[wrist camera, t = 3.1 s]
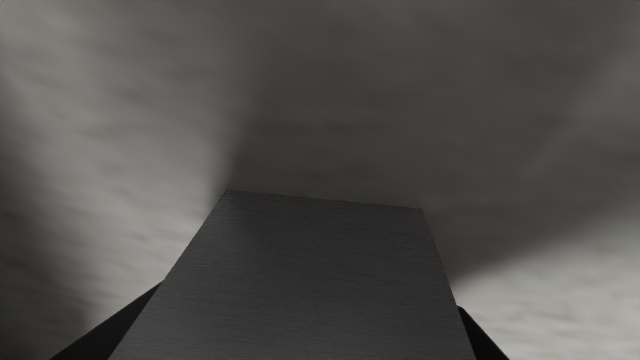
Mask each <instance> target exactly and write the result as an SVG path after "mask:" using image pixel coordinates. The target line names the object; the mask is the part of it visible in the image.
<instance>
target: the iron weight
mask: <svg viewBox="0 0 640 360" xmlns="http://www.w3.org/2000/svg"><path fill="white" fill-rule="evenodd" d="M108 360H476V357H475V355H474V352H473V349H472V346H471V344H470V341H469V338H468V335H467V333H466V330H465V327H464V324H463V321H462V319H461V316H460V313H459V310H458V308H457V305H456V302H455V299H454V297H453V294H452V291H451V288H450V286H449V283H448V280H447V277H446V275H445V272H444V269H443V266H442V264H441V261H440V258H439V255H438V253H437V250H436V247H435V244H434V241H433V239H432V236H431V233H430V230H429V228H428V225H427V222H426V219H425V217H424V214H423V211H422V209H415V208H405V207H395V206H385V205H375V204H365V203H355V202H345V201H335V200H325V199H315V198H306V197H296V196H286V195H276V194H266V193H256V192H246V191H236V190H226V192H225V193H224V195H223V196H222V198H221V199H220V200H219V202H218V203H217V205H216V206H215V208H214V209H213V210H212V212H211V213H210V215H209V216H208V218H207V219H206V220H205V222H204V223H203V225H202V226H201V228H200V229H199V230H198V232H197V233H196V235H195V236H194V238H193V239H192V240H191V242H190V243H189V245H188V246H187V247H186V249H185V250H184V252H183V253H182V255H181V256H180V257H179V259H178V260H177V262H176V263H175V265H174V266H173V267H172V269H171V270H170V272H169V273H168V275H167V276H166V277H165V279H164V280H163V282H162V283H161V285H160V286H159V287H158V289H157V290H156V292H155V293H154V295H153V296H152V297H151V299H150V300H149V302H148V303H147V305H146V306H145V307H144V309H143V310H142V312H141V313H140V314H139V316H138V317H137V319H136V320H135V322H134V323H133V324H132V326H131V327H130V329H129V330H128V332H127V333H126V334H125V336H124V337H123V339H122V340H121V342H120V343H119V344H118V346H117V347H116V349H115V350H114V352H113V353H112V354H111V356H110V357H109V359H108Z"/></svg>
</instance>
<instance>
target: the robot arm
mask: <svg viewBox="0 0 640 360" xmlns="http://www.w3.org/2000/svg"><path fill="white" fill-rule="evenodd" d="M162 282H163V281H162ZM162 282H160V283H159V284H157V285H156V286H154V287H153V288H151V289H150V290H149V291H147V292H146V293H144V294H143V295H141V296H140V297H139V298H137V299H136V300H134V301H133V302H131V303H130V304H128V305H127V306H126V307H124V308H123V309H121V310H120V311H118V312H117V313H115V314H114V315H113V316H111V317H110V318H108V319H107V320H105V321H104V322H102V323H101V324H100V325H98V326H97V327H95V328H94V329H92V330H91V331H89V332H88V333H87V334H85V335H84V336H82V337H81V338H79V339H78V340H76V341H75V342H74V343H72V344H71V345H69V346H68V347H66V348H65V349H64V350H62V351H61V352H59V353H58V354H56V355H55V356H53V357H52V358H51V359H49V360H108V359H109V357H110V356H111V354H112V353H113V352H114V350H115V349H116V347H117V346H118V344H119V343H120V342H121V340H122V339H123V337H124V336H125V334H126V333H127V332H128V330H129V329H130V327H131V326H132V324H133V323H134V322H135V320H136V319H137V317H138V316H139V314H140V313H141V312H142V310H143V309H144V307H145V306H146V305H147V303H148V302H149V300H150V299H151V297H152V296H153V295H154V293H155V292H156V290H157V289H158V287H159V286H160V285H161V283H162ZM457 308H458V310H459V313H460V316H461V319H462V321H463V324H464V327H465V330H466V333H467V335H468V338H469V341H470V344H471V346H472V349H473V352H474V355H475V357H476V360H509V358H508V357H507V356H506V355H505V354H504V353H503V352H502V351H501V350H500V348H499V347H498V346H497V345H496V344H495V343H494V342H493V341H492V340H491V338H490V337H489V336H488V335H487V334H486V333H485V332H484V331H483V330H482V328H481V327H480V326H479V325H478V324H477V323H476V322H475V321H474V320H473V319H472V317H471V316H470V315H469V314H468V313H467V312H466V311H465V310H464V309H463V308H462V307H460V306H457Z"/></svg>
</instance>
